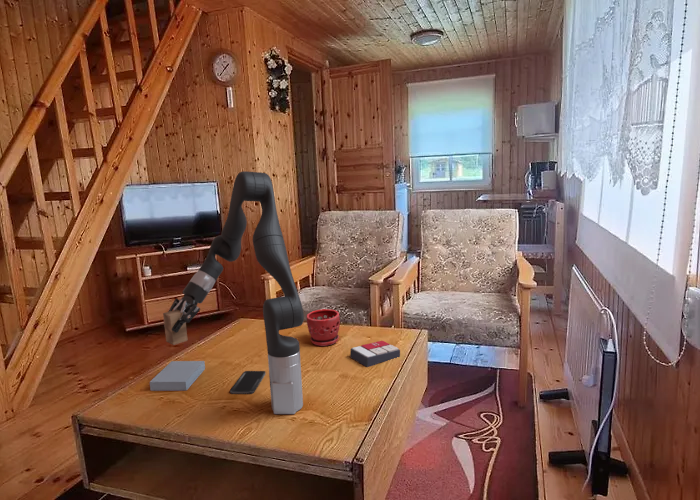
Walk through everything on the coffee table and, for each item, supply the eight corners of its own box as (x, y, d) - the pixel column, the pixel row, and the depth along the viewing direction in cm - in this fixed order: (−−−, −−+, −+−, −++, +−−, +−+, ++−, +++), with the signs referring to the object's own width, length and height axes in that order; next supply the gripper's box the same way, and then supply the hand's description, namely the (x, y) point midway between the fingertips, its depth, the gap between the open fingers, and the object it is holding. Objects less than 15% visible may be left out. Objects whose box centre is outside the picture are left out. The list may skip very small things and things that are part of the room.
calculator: (400, 347, 166) (367, 356, 158) (400, 359, 166) (367, 368, 158) (382, 339, 175) (349, 346, 167) (382, 349, 176) (349, 357, 167)
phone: (228, 391, 143) (244, 370, 158) (229, 395, 143) (244, 373, 158) (253, 392, 142) (266, 370, 157) (253, 395, 142) (266, 374, 157)
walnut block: (187, 340, 153) (184, 312, 151) (173, 345, 149) (170, 316, 148) (180, 337, 156) (177, 309, 155) (166, 341, 153) (163, 313, 151)
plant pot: (310, 336, 190) (308, 309, 188) (341, 336, 189) (340, 308, 187) (305, 348, 177) (304, 319, 175) (339, 348, 176) (338, 318, 174)
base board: (186, 390, 146) (185, 381, 146) (150, 390, 147) (149, 382, 147) (205, 368, 162) (204, 360, 162) (172, 369, 163) (171, 361, 162)
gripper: (181, 278, 160) (151, 319, 153) (202, 283, 150) (171, 328, 143) (196, 289, 164) (168, 330, 158) (218, 295, 155) (189, 339, 148)
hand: (170, 329), depth 151 cm, fingers closed on walnut block, 5 cm apart
